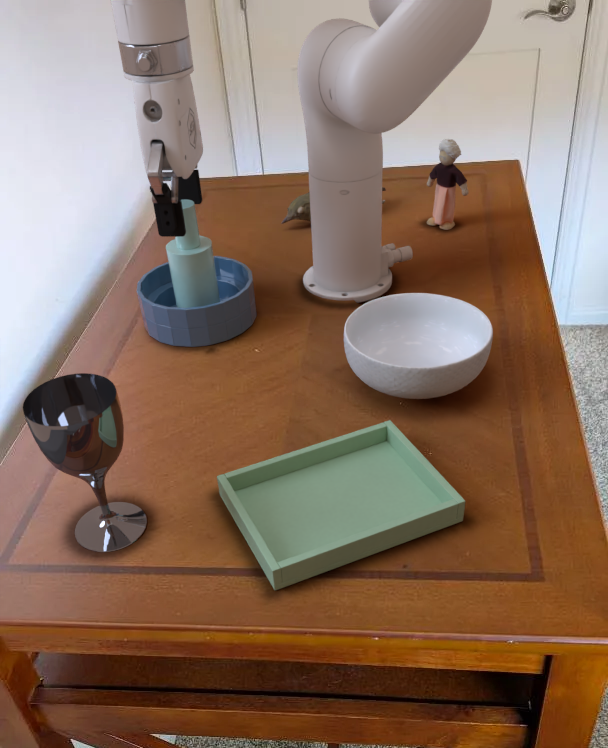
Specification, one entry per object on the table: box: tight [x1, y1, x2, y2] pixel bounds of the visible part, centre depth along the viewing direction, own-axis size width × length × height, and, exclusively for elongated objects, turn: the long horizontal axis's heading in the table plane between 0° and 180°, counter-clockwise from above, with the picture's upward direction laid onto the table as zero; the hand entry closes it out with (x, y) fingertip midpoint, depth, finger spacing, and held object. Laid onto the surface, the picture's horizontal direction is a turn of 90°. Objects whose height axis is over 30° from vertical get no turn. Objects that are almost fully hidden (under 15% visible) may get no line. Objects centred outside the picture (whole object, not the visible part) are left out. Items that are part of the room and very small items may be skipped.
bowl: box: [136, 255, 258, 348], centre depth 102 cm, size 15×15×6 cm
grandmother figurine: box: [426, 138, 470, 231], centre depth 117 cm, size 8×4×13 cm, turn 55°
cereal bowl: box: [343, 292, 494, 400], centre depth 89 cm, size 17×17×7 cm
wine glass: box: [22, 372, 148, 553], centre depth 71 cm, size 8×8×15 cm
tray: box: [216, 419, 466, 591], centre depth 75 cm, size 20×15×3 cm
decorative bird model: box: [280, 186, 387, 225], centre depth 125 cm, size 5×20×5 cm, turn 117°
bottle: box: [165, 200, 220, 308], centre depth 98 cm, size 6×6×15 cm
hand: (181, 218), depth 94 cm, fingers open, 9 cm apart
